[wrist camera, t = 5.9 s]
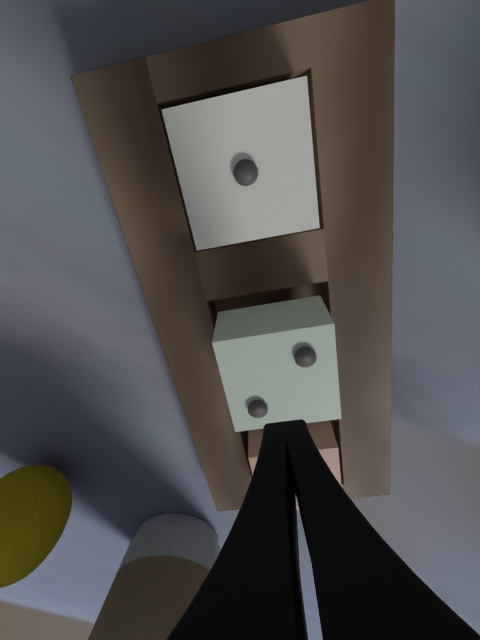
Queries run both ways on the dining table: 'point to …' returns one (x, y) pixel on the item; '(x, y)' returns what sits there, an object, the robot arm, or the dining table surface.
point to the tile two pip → (278, 363)
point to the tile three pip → (321, 438)
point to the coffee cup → (157, 578)
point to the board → (273, 252)
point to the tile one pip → (246, 163)
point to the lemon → (31, 518)
